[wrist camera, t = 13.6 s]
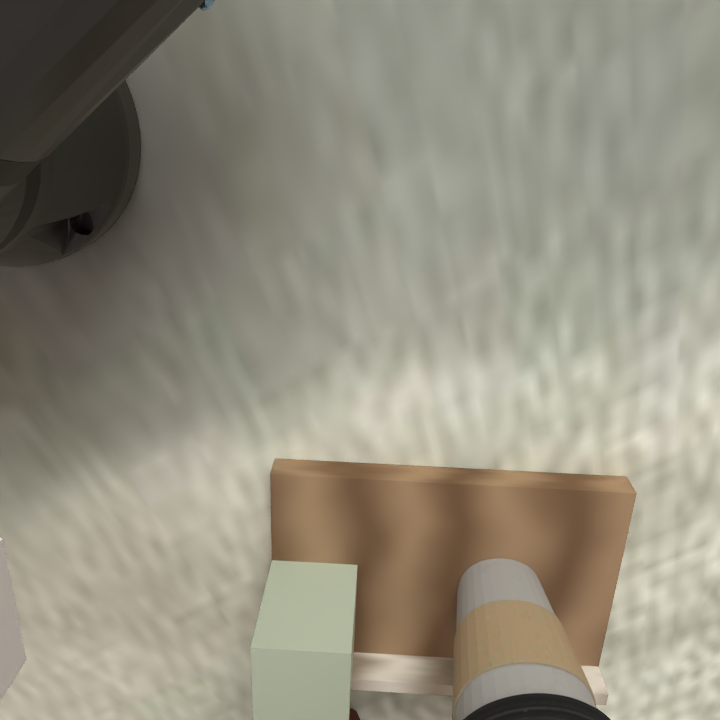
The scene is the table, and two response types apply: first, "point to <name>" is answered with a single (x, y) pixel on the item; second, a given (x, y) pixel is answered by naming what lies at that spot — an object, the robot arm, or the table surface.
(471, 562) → the shelf board
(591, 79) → the table surface
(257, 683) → the pale green box
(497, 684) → the coffee cup
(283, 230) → the table surface
